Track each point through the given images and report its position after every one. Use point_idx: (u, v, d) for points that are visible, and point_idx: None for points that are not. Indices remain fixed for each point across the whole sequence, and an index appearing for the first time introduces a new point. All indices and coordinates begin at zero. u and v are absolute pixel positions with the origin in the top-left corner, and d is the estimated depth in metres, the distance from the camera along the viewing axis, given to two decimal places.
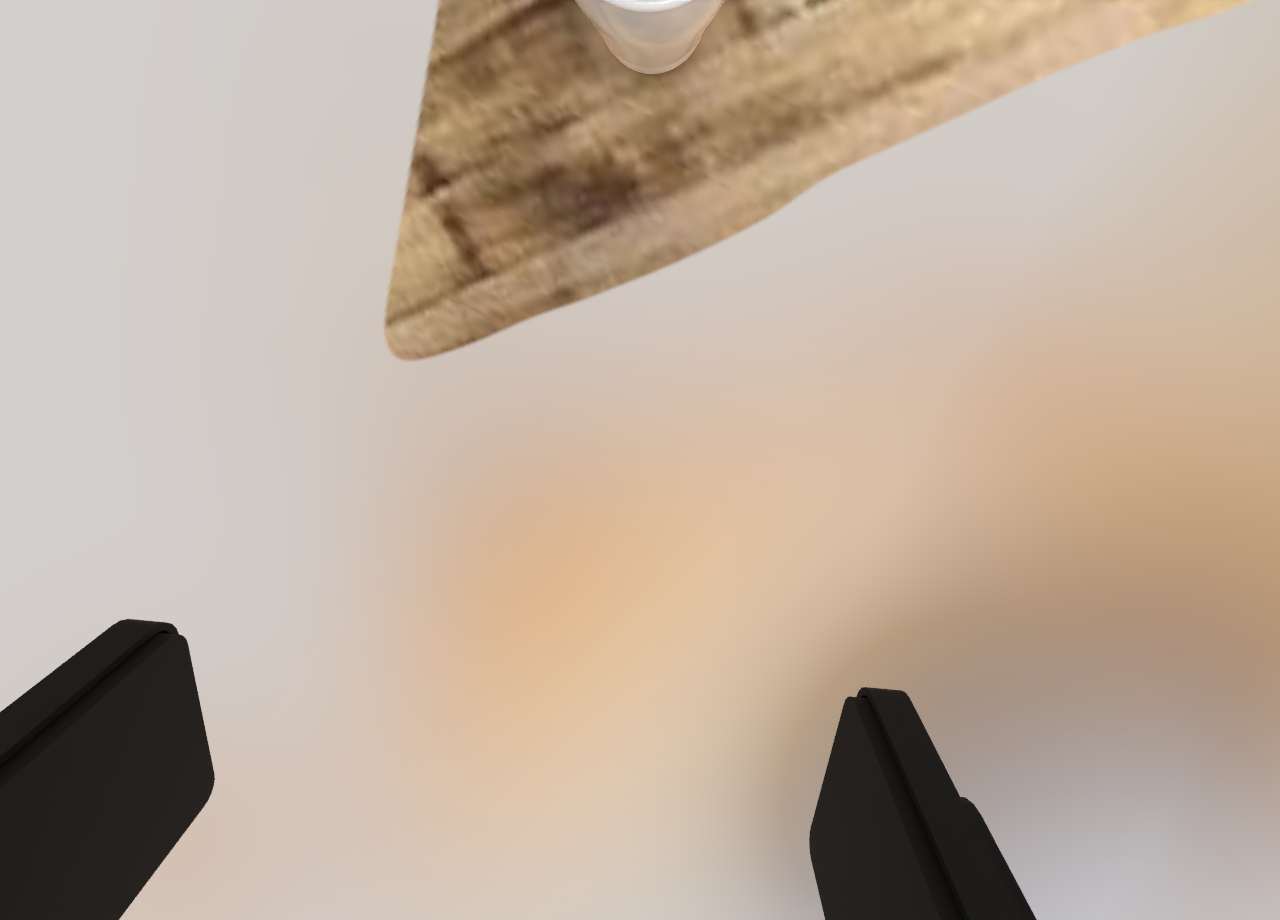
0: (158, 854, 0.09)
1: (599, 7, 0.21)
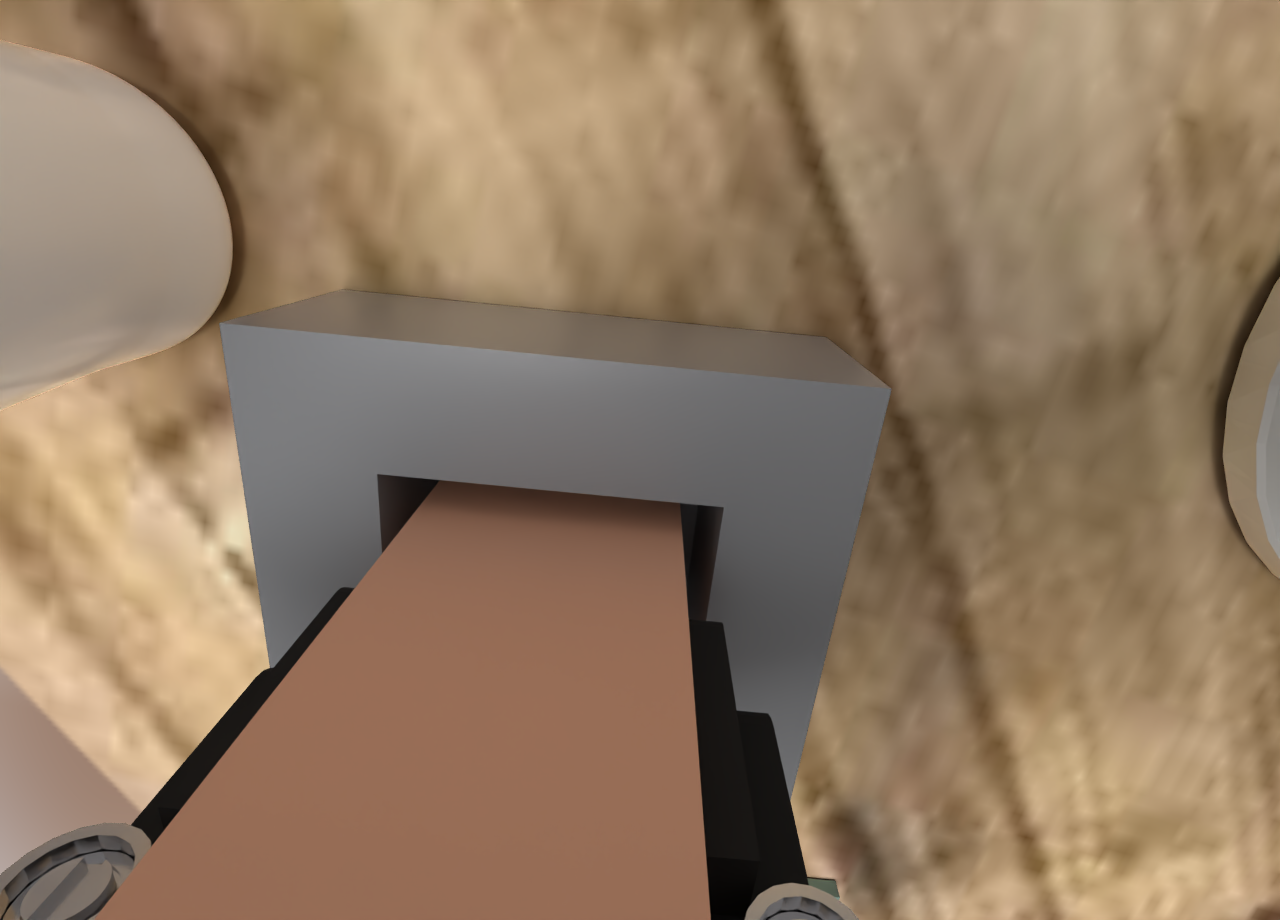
0: None
1: None
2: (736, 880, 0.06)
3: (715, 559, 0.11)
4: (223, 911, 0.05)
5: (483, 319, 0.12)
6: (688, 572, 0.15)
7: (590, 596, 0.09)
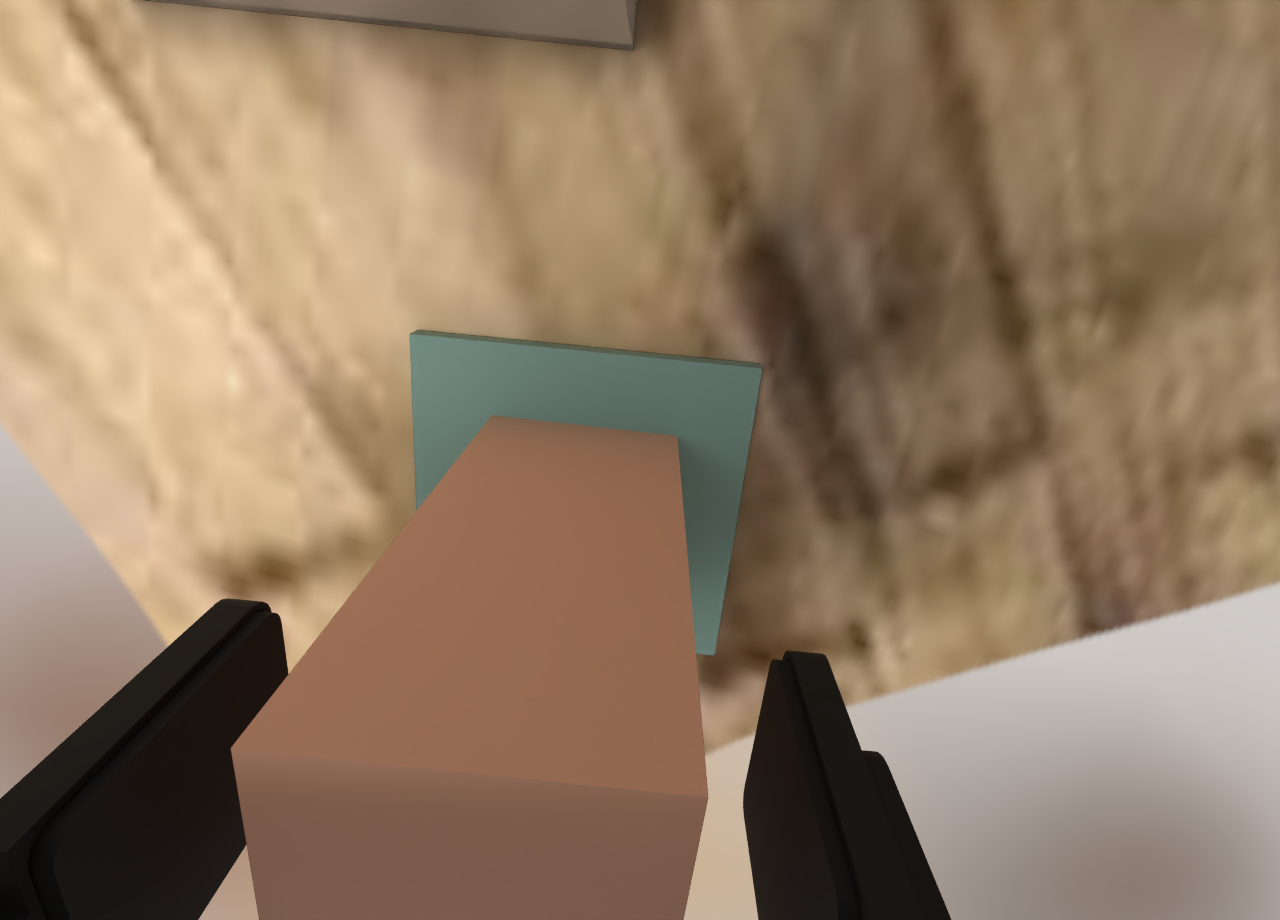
0: None
1: None
2: None
3: None
4: (328, 745, 0.06)
5: None
6: None
7: (603, 542, 0.10)
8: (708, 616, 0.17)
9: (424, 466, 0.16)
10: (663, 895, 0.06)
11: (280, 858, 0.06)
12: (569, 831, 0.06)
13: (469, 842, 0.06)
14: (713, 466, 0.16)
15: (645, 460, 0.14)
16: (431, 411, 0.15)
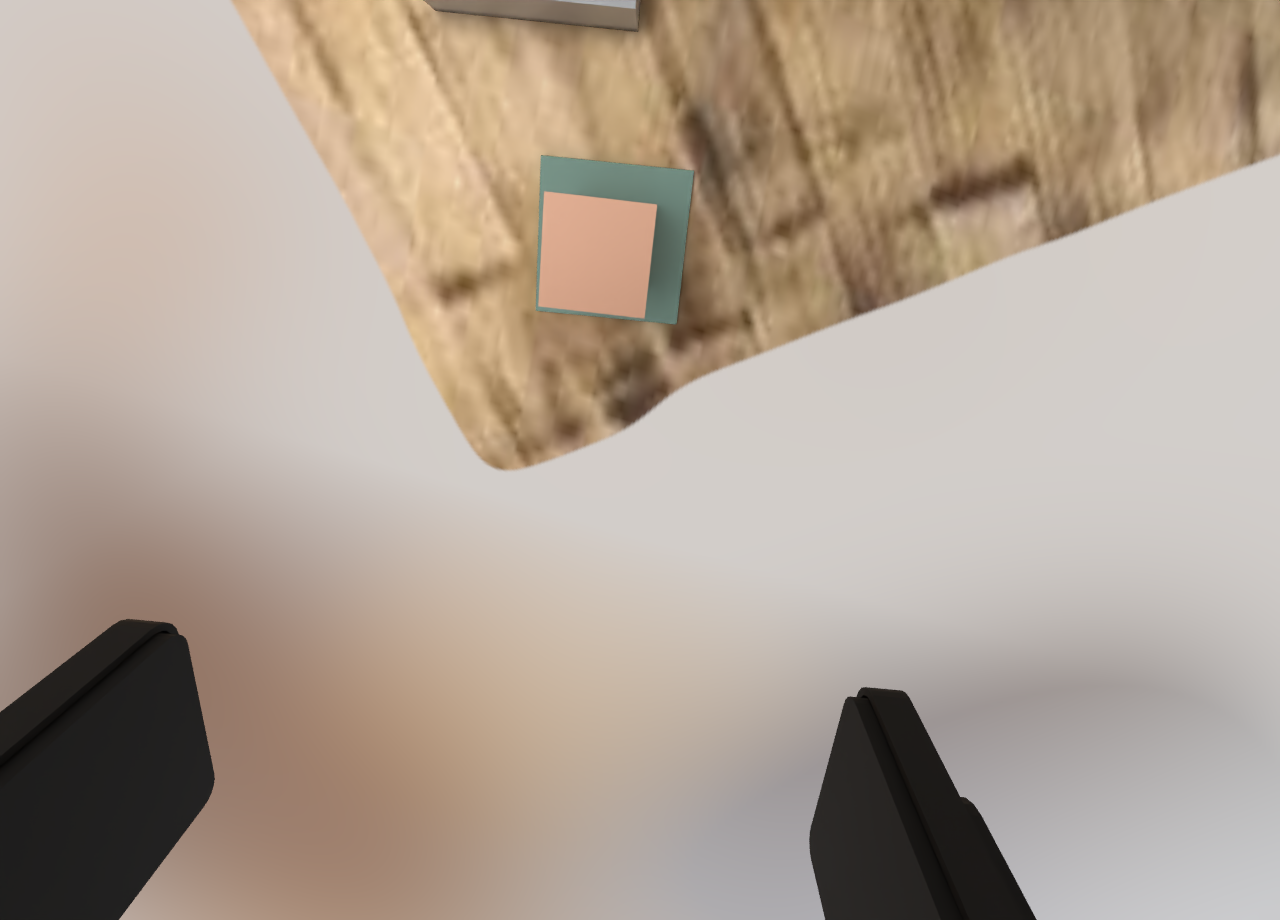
0: (158, 854, 0.09)
1: None
2: None
3: None
4: None
5: None
6: None
7: None
8: (673, 301, 0.36)
9: None
10: (646, 241, 0.26)
11: (550, 230, 0.25)
12: (623, 218, 0.25)
13: (598, 223, 0.25)
14: (673, 219, 0.35)
15: None
16: None
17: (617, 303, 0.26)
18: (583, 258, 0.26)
